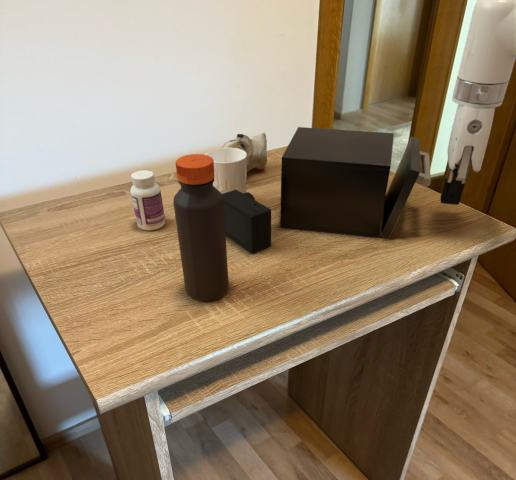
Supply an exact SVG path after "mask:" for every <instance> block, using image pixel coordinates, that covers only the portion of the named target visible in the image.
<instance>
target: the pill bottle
mask: <svg viewBox="0 0 516 480" xmlns="http://www.w3.org/2000/svg"><path fill="white" fill-rule="evenodd" d="M130 177H131V183H132V184H133V185H132V186H131V187H130V197H131V202H132V206H133V211H134V216H135V217H134V218H135V220H136V225H137V227H138V228H139V229H141V230H143V231H155V230H158V229H160V228H163V226H165V224H166V215H165V210H164V203H163V196H162V192H161V191H162V190H161V186H160V185H159V184H158V183H157V182H156V177H155V173H154V172H153V171H152V170H145V169H143V170H136V171H135V172H132V174H131V175H130Z"/></svg>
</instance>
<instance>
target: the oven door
mask: <svg viewBox="0 0 516 480" xmlns="http://www.w3.org/2000/svg"><path fill="white" fill-rule="evenodd" d="M420 147H421V146H420V138H418V137H415V136H410V138H409V140H408V143H407V145H406V147H405V149H404V152H403V155H402V156H401V159H400V161H399V164H398V165H397V169H396V171H395V174H394V176H393V178H392V180H391V182H390V184H389V187H388V188H387V191H386V197H385V203H384V209H383V214H382V220H381V226H380V237H381V238H384V239H388V240H389V239H390V237H391V235H392V233H393V231H394V229H395V227H396V224H397V222H398V220H399V218H400V216H401V215H402V212H403V210H404V208H405V206H406V204H407V202H408V199H409V196H410V195H411V193H412V191H413V189H414V186H415V185H416V184H417V185H421V186H423V187H429V186H431V183H432V179H431V177H432V176H431V162H430V161H431V160H430V153H429V152H424V151H422V150H420V149H421V148H420Z"/></svg>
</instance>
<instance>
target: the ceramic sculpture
mask: <svg viewBox="0 0 516 480" xmlns="http://www.w3.org/2000/svg"><path fill="white" fill-rule="evenodd" d="M267 141H268V140H267V134H266V132H262V133H259V134H257V135H254V136H252V137H251V138H250V137H249V135H247V134H246V135H245V134H243V133H238V134H236V137H235V139H230V140H229V141H227V142H225V143H224V144H223V146H222V147H221V148H226V147H229V148H238V149H241V150H243V151H245V152H246V153H247V172H249V171H251V170H253V169H254V168H255V169H260V170H261V169H264V168H265V167H266V165H267V163H268V145H267Z"/></svg>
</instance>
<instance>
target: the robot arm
mask: <svg viewBox="0 0 516 480" xmlns="http://www.w3.org/2000/svg"><path fill="white" fill-rule="evenodd" d="M515 63H516V0H476V2H475V4H474V6H473V10H472V13H471V17H470V22H469V26H468V30H467V35H466V39H465V43H464V47H463V50H462V55H461V59H460V64H459V68H458V72H457V76H456V81H455V85H454V87H453V88H454V89H453V93H452V98H451V101H452V102H453V103H455V104H457V107H456V111H455V115H454V118H453V122H452V125H451V130H450V134H449V140H448V145H447V161H448V170H447V173H446V178H445V179H444V181H443V186H442V190H441V195H440V197H439V198H440V199H439V200H440V203H441V204H444V205H455V206H457V205H460V202H461V199H462V195H463V192H464V189H465V185H466V180H467V177H468V174H469V170H470V167H472V171H473V172H475V173H478V172H480V171H481V170H482V165H483V162H484V159H485V154H486V150H487V147H488V142H489V138H490V135H491V131H492V126H493V121H494V117H495V111H496V108H498V107H500V106H502V105H503V102H504V99H505V97H506V96H505V95H506V92H507V89H508V85H509V83H510V79H511V75H512V73H513V69H514V66H515Z"/></svg>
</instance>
